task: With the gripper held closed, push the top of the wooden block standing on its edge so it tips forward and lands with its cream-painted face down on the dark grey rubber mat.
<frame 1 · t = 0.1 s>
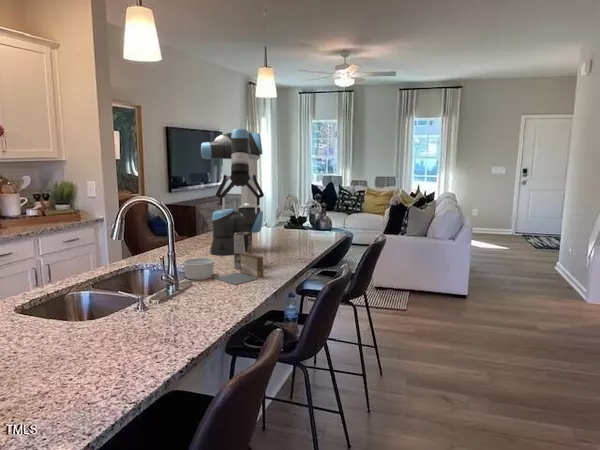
hand: (239, 213, 189), 28 cm above the worktop, tool tilted 20°, fingers open, 13 cm apart
wooden block: (251, 275, 196), on the worktop
coffee box: (243, 266, 211), on the worktop
mat: (236, 278, 190), on the worktop
ramekin: (199, 277, 195), on the worktop
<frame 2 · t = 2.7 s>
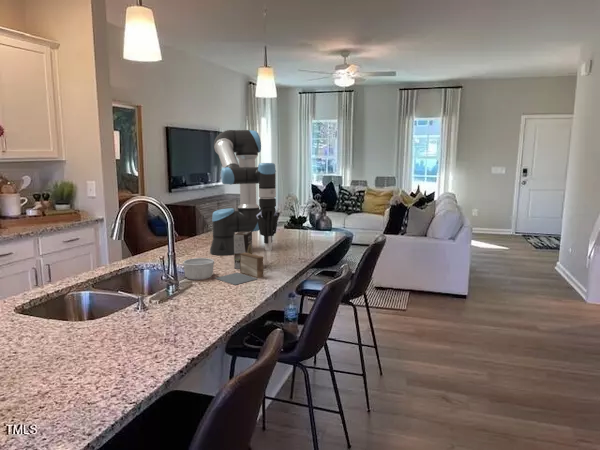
hand: (268, 250, 202), 10 cm above the worktop, tool pointing down, fingers closed
nothing on the worktop moved.
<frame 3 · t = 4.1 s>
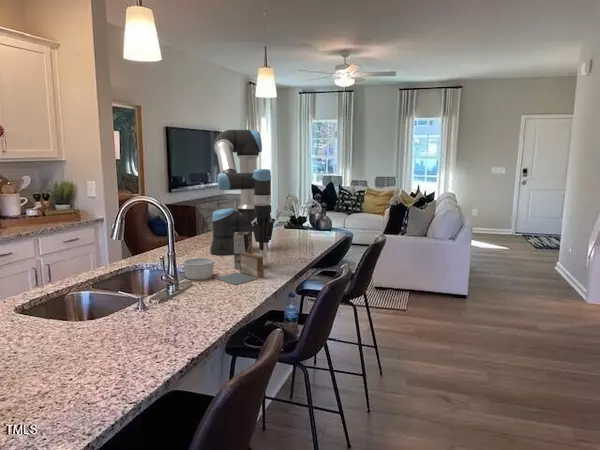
hand: (263, 256, 200), 7 cm above the worktop, tool pointing down, fingers closed
nothing on the worktop moved.
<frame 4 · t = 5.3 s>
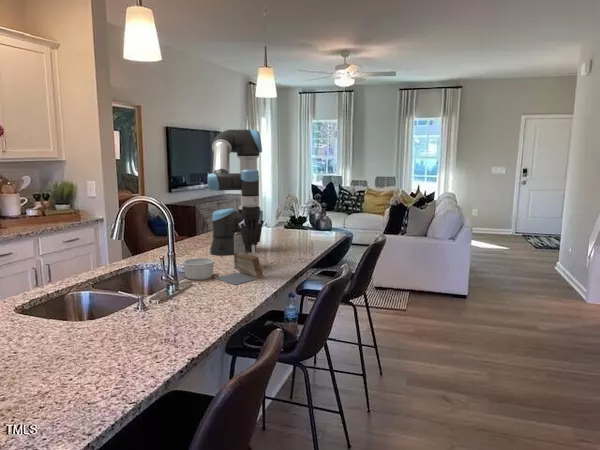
hand: (251, 259, 195), 7 cm above the worktop, tool pointing down, fingers closed
wooden block: (251, 274, 196), on the worktop, tilted 18°, touching gripper
everything else where it was.
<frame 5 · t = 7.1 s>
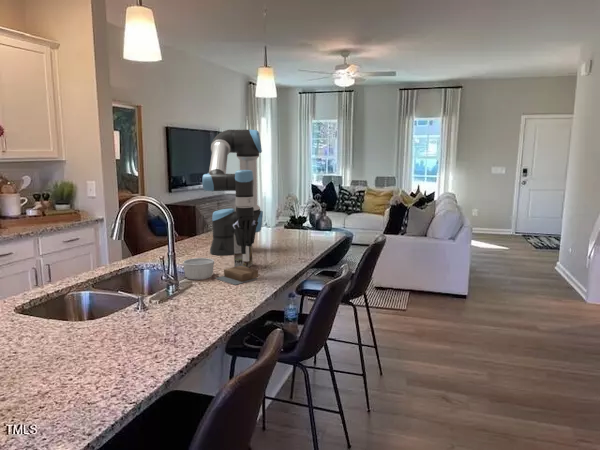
hand: (246, 260, 193), 7 cm above the worktop, tool pointing down, fingers closed
wooden block: (249, 271, 195), point 2 cm above the worktop, tilted 90°, touching mat
everything else where it was.
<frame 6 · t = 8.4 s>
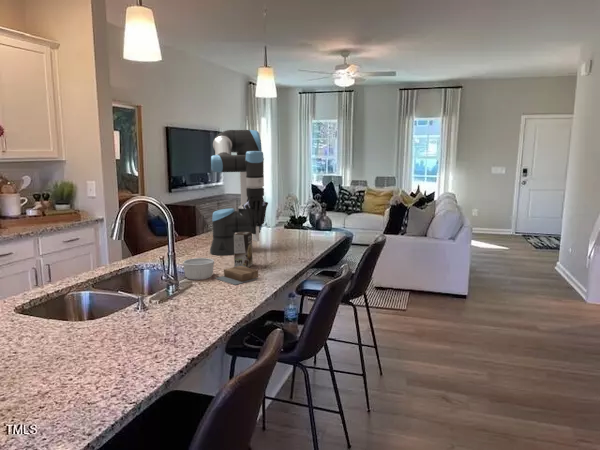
hand: (256, 240, 197), 15 cm above the worktop, tool pointing down, fingers closed
nothing on the worktop moved.
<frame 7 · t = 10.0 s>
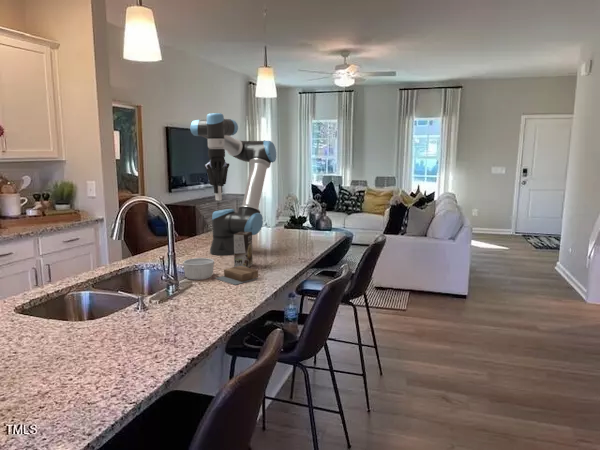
hand: (218, 200, 207), 31 cm above the worktop, tool pointing down, fingers closed
nothing on the worktop moved.
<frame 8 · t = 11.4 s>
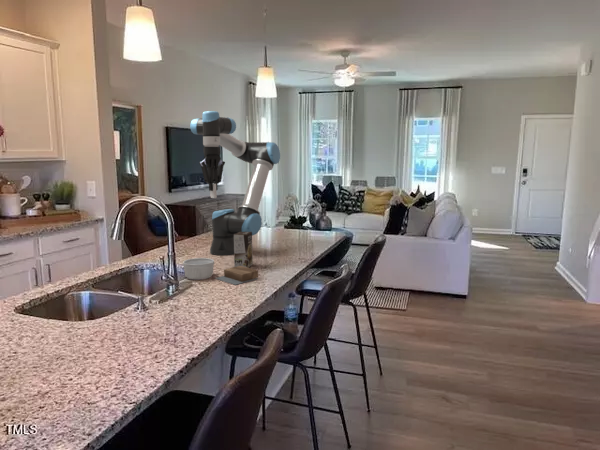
hand: (213, 197, 207), 32 cm above the worktop, tool pointing down, fingers closed
nothing on the worktop moved.
at the end: wooden block tilted 90°; wooden block inside the target area (6.1 cm from its centre), point 1.8 cm above the worktop; the gripper is holding nothing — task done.
